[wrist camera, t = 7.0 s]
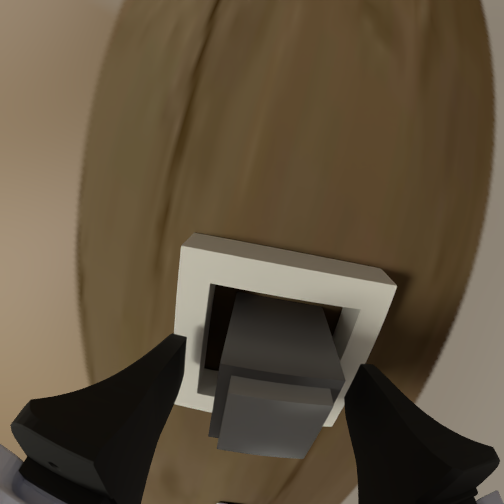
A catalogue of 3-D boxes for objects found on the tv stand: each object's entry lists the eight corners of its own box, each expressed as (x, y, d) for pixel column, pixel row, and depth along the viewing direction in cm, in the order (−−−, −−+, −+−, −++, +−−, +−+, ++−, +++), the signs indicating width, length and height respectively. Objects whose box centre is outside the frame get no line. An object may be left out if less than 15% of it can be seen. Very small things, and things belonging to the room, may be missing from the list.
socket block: (326, 401, 15) (331, 426, 13) (180, 379, 15) (171, 403, 13) (380, 268, 13) (397, 285, 11) (194, 232, 13) (181, 245, 11)
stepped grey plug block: (300, 370, 15) (310, 464, 9) (225, 358, 15) (205, 451, 9) (322, 306, 13) (350, 397, 8) (237, 291, 13) (215, 380, 8)
